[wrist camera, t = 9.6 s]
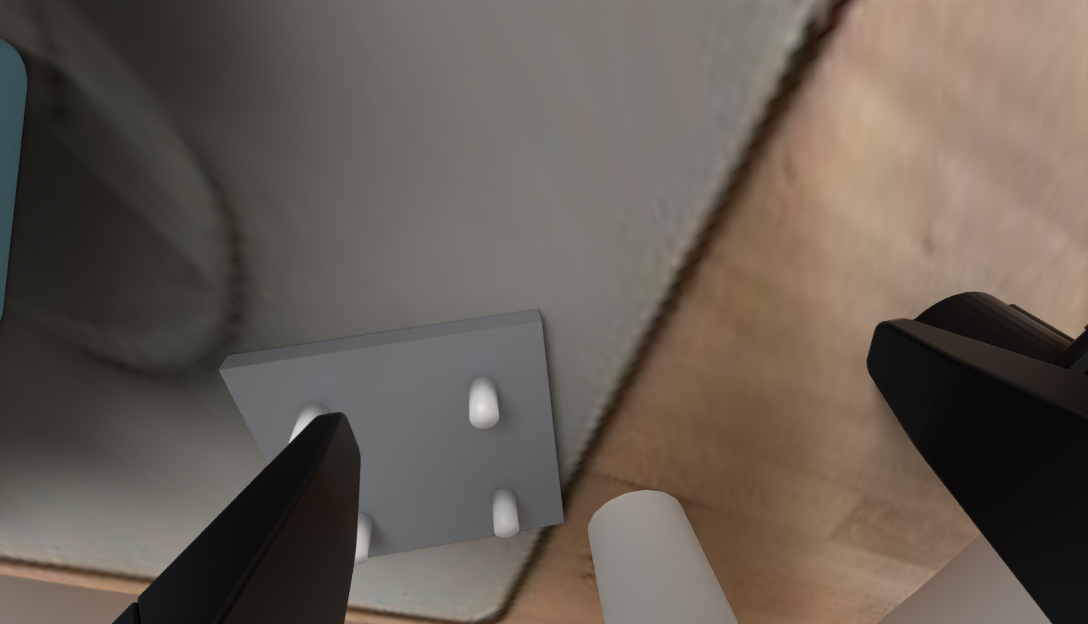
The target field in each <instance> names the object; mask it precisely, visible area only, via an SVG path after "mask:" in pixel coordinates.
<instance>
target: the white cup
mask: <svg viewBox="0 0 1088 624" xmlns="http://www.w3.org/2000/svg"><path fill="white" fill-rule="evenodd" d="M588 536H589V542H590V548H591V553H592V559H593V564H594V570H595V575H596V581H597V586H598V592H599V597H600V603H601V608H602V614H603V619H604V624H739V623H738V621H737V619H736V617H735V615H734V613H733V611H732V609H731V607H730V605H729V603H728V601H727V599H726V596H725V594H724V592H723V590H722V588H721V586H720V584H719V582H718V580H717V578H716V576H715V574H714V572H713V570H712V568H711V566H710V563H709V561H708V559H707V557H706V555H705V553H704V551H703V549H702V547H701V545H700V543H699V541H698V539H697V537H696V535H695V533H694V531H693V528H692V526H691V524H690V522H689V520H688V518H687V516H686V514H685V512H684V510H683V508H682V506H681V505H680V503H679V502H678V500H677V498H675V497H673V496H671V495H669V494H667V493H665V492H662V491H653V490H641V491H635V492H629V493H625V494H623V495H620V496H618V497H616V498H614V499H612V500H610V501H608V502H606V503H605V504H604V505H603V506H602V507H601V508H600V509H598V510H597V511H596V512H595V513H594V515H593V517H592V519H591V521H590V523H589V525H588Z"/></svg>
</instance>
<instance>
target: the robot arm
mask: <svg viewBox="0 0 1088 624" xmlns="http://www.w3.org/2000/svg"><path fill="white" fill-rule="evenodd" d="M1084 328H1085V329H1086V330H1085V331H1084V332H1083V333H1082V334H1081V335H1080V336H1078V337H1077V338H1076V339H1073V338H1071V337H1069V336H1068V335H1066V334H1064V333H1063V332H1061V331H1059V330H1057V329H1056V328H1054V327H1052V326H1051V325H1049V324H1047V323H1045V322H1044V321H1042V320H1040V319H1039V318H1037V317H1035V316H1033V315H1032V314H1030V313H1028V312H1027V311H1025V310H1023V309H1021V308H1020V307H1018V306H1016V305H1014V304H1011V305H1007V304H1005V303H1004V302H1002V301H1000V300H999V299H997V298H995V297H994V296H992V295H989V294H986V293H982V292H966V293H962V294H957V295H954V296H951V297H949V298H946V299H944V300H942V301H940V302H938V303H936V304H934V305H933V306H931V307H930V308H928V309H927V310H925V311H924V312H923V313H922V314H921V315H919V316H918V317H917V318H915V319H914V320H910V319H906V318H900V319H894V320H888V321H883V322H881V323H879V324H878V325H877V326H876V328H875V331H874V334H873V338H872V342H871V346H870V350H869V353H868V357H867V369H868V372H869V374H870V376H871V378H872V379H873V381H874V382H875V384H876V386H877V387H878V389H879V390H880V392H881V394H882V395H883V397H884V398H885V400H886V402H887V403H888V405H889V406H890V408H891V409H892V411H893V413H894V414H895V416H896V417H897V419H898V421H899V422H900V424H901V425H902V427H903V429H904V430H905V432H906V433H907V435H908V437H909V438H910V440H911V441H912V443H913V444H914V446H915V447H916V449H917V450H918V451H919V453H920V454H921V455H922V457H923V458H924V459H925V461H926V462H927V463H928V465H929V466H930V467H931V468H932V470H933V471H934V472H935V474H936V475H937V476H938V477H939V479H940V480H941V481H942V483H943V484H944V485H945V486H946V488H947V489H948V490H949V492H950V493H951V494H952V495H953V497H954V498H955V499H956V501H957V502H958V503H959V505H960V506H961V507H962V508H963V510H964V511H965V512H966V514H967V515H968V516H969V517H970V519H971V520H972V521H973V523H974V524H975V525H976V526H977V528H978V529H979V530H980V532H981V533H982V534H983V535H984V537H985V538H986V539H987V541H988V542H989V543H990V544H991V546H992V547H993V548H994V549H995V551H996V552H997V553H998V555H999V556H1000V557H1001V559H1002V560H1003V561H1004V563H1005V564H1006V565H1007V566H1008V567H1009V569H1010V570H1011V571H1012V573H1013V574H1014V575H1015V577H1016V578H1017V579H1018V580H1019V582H1020V583H1021V584H1022V586H1023V587H1024V588H1025V589H1026V591H1027V592H1028V593H1029V595H1030V596H1031V597H1032V598H1033V600H1034V601H1035V602H1036V604H1037V605H1038V606H1039V607H1040V609H1041V610H1042V611H1043V613H1044V614H1045V615H1046V617H1047V618H1048V619H1049V620H1050V622H1051V623H1052V624H1088V324H1087V325H1086V326H1085V327H1084ZM360 470H361V455H360V450H359V446H358V444H357V441H356V439H355V436H354V433H353V431H352V428H351V426H350V423H349V421H348V418H347V417H346V415H345V414H344V413H342V412H334V413H328V414H322V415H318V416H316V417H315V418H314V419H313V420H312V421H311V422H310V423H309V424H308V425H307V426H306V427H305V428H304V429H303V430H302V431H301V432H300V433H299V434H298V435H297V436H296V437H295V438H294V439H293V440H292V441H291V442H290V443H289V444H288V445H287V446H286V447H285V448H284V449H283V450H282V451H281V452H280V453H279V454H278V455H277V456H276V457H275V458H274V459H273V460H272V461H271V462H270V463H269V464H268V466H267V467H266V468H265V469H264V470H263V471H262V472H261V473H260V474H259V475H258V476H257V477H256V478H255V479H254V480H253V481H252V482H251V483H250V484H249V485H248V486H247V487H246V488H245V489H244V490H243V491H242V492H241V493H240V494H239V495H238V496H237V497H236V498H235V499H234V500H233V501H232V502H231V503H230V504H229V505H228V506H227V507H226V508H225V509H224V510H223V511H222V512H221V513H220V514H219V515H218V516H217V517H216V518H215V519H214V520H213V521H212V523H211V524H210V525H209V526H208V527H207V528H206V529H205V530H204V531H203V532H202V533H201V534H200V535H199V536H198V537H197V538H196V539H195V540H194V541H193V542H192V543H191V544H190V545H189V546H188V547H187V548H186V549H185V550H184V551H183V552H182V553H181V554H180V555H179V556H178V557H177V558H176V559H175V560H174V561H173V562H172V563H171V564H170V565H169V566H168V567H167V568H166V569H165V570H164V571H163V572H162V573H161V574H160V575H159V576H158V577H157V579H156V580H155V581H154V582H153V583H152V584H151V585H150V586H149V587H148V588H147V589H146V590H145V591H144V592H143V593H142V594H141V595H140V596H139V597H138V603H136V602H134V603H132V604H131V605H130V606H129V607H128V608H127V609H126V610H125V611H124V612H123V613H122V614H121V615H120V616H119V617H118V618H117V619H116V620H115V621H114V622H113V623H112V624H344V621H345V615H346V609H347V603H348V597H349V592H350V586H351V580H352V574H353V568H354V562H355V554H356V545H357V530H358V510H359V490H360Z"/></svg>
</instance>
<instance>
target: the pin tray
mask: <svg viewBox="0 0 1088 624" xmlns="http://www.w3.org/2000/svg"><path fill="white" fill-rule="evenodd" d="M219 372H220V374H221V376H222V378H223V379H224V381H225V383H226V385H227V387H228V389H229V391H230V393H231V395H232V397H233V399H234V401H235V403H236V405H237V407H238V409H239V411H240V413H241V415H242V416H243V418H244V420H245V422H246V424H247V426H248V428H249V430H250V432H251V434H252V436H253V438H254V440H255V442H256V444H257V446H258V448H259V450H260V452H261V453H262V455H263V457H264V459H265V461H266V463H267V465H268V464H269V463H270V462H271V461H272V460H273V459H274V458H275V457H276V456H277V455H278V454H279V453H280V452H281V451H282V450H283V449H284V448H285V447H286V446H287V445H288V444H289V443H290V442H291V441H292V440H293V439H294V438H295V437H296V436H297V435H298V434H299V433H300V432H301V431H302V430H303V429H304V428H305V427H306V426H307V425H308V424H309V423H310V422H311V421H312V420H313V419H314V418H315V417H316V416H318V415H322V414H328V413H334V412H342V413H344V414H345V415H346V417H347V418H348V421H349V423H350V426H351V428H352V431H353V433H354V436H355V439H356V441H357V444H358V446H359V450H360V455H361V470H360V490H359V510H358V530H357V545H356V554H355V562H354V565H357V564H361V563H363V562H365V561H366V559H367V558H368V557H374V556H380V555H386V554H391V553H397V552H403V551H408V550H414V549H420V548H425V547H431V546H437V545H442V544H448V543H454V542H460V541H465V540H471V539H477V538H482V537H488V536H494V535H496V536H498V537H500V538H510V537H513V536H515V535H516V534H517V533H518V532H519V531H522V530H528V529H534V528H539V527H545V526H551V525H556V524H562V523H564V517H563V508H562V499H561V490H560V481H559V472H558V463H557V454H556V445H555V436H554V427H553V418H552V409H551V400H550V391H549V382H548V373H547V364H546V355H545V346H544V337H543V328H542V320H541V316H540V312H539V309H536V310H529V311H522V312H516V313H509V314H502V315H495V316H489V317H482V318H475V319H469V320H462V321H455V322H448V323H442V324H435V325H428V326H422V327H415V328H408V329H401V330H395V331H388V332H381V333H375V334H368V335H361V336H354V337H348V338H341V339H334V340H328V341H321V342H314V343H307V344H301V345H294V346H287V347H281V348H274V349H267V350H260V351H254V352H247V353H240V354H234V355H228V356H227V357H226V359H225V360H224V362H223V364H222V365H221V367H220V369H219Z"/></svg>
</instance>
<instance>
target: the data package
mask: <svg viewBox="0 0 1088 624" xmlns="http://www.w3.org/2000/svg"><path fill="white" fill-rule="evenodd" d="M26 93H27V74H26V69H25V65H24V63H23V60H22V58H21V56H20V55H19V53H18V52H17V51H16V49H15V48H14V47H13V46H11V45H10V44H9V43H8V42H6V41H5V40H3V39H1V38H0V321H1V318H2V314H3V307H4V297H5V288H6V279H7V269H8V260H9V251H10V242H11V232H12V223H13V214H14V205H15V195H16V186H17V177H18V167H19V158H20V149H21V140H22V130H23V121H24V112H25V103H26Z"/></svg>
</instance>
